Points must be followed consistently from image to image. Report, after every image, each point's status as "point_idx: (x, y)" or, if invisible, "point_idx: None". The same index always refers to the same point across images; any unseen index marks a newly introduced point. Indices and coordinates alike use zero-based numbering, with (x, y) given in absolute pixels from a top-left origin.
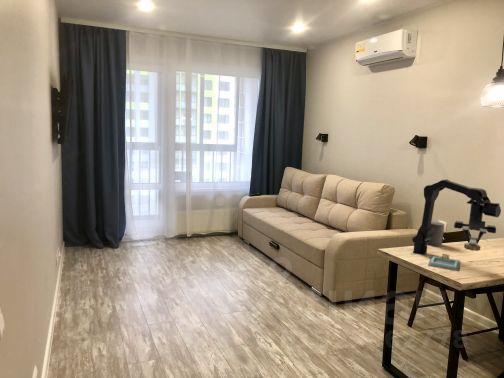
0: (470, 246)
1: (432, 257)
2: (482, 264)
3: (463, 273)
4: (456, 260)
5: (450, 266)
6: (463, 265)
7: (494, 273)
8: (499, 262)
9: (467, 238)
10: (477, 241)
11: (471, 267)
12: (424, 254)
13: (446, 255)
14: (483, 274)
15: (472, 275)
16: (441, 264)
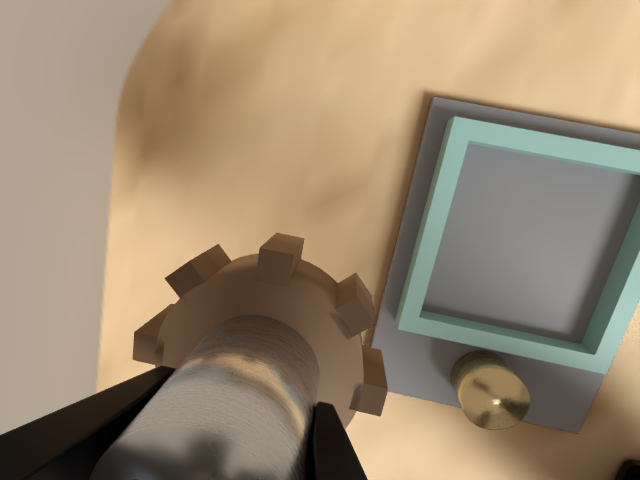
0: (304, 284)
1: (587, 388)
2: None
3: (395, 45)
4: (407, 325)
5: (503, 126)
6: None
7: (145, 175)
8: None
9: (356, 475)
10: (135, 391)
11: None
12: (629, 460)
13: (492, 391)
14: (229, 103)
15: (325, 21)
16: (589, 141)
